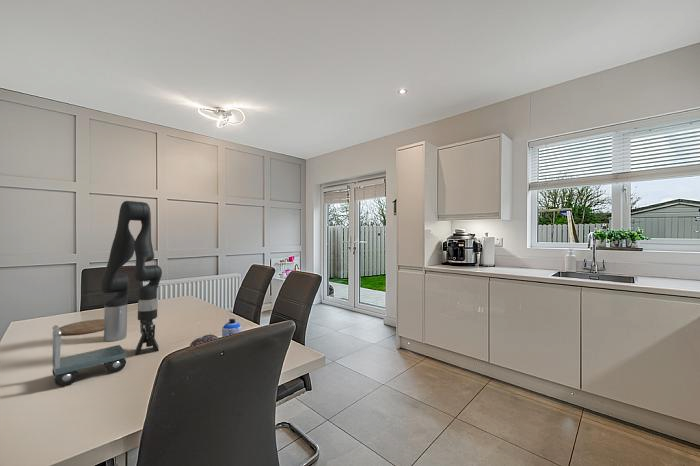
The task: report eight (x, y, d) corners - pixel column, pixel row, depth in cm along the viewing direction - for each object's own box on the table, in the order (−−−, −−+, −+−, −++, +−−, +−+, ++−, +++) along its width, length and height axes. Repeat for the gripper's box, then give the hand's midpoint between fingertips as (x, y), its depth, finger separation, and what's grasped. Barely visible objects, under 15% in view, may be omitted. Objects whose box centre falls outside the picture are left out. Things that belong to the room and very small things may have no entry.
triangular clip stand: (134, 355, 129) (135, 328, 129) (135, 351, 134) (135, 325, 134) (158, 351, 134) (159, 325, 134) (158, 347, 139) (158, 322, 139)
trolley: (51, 378, 108) (52, 325, 108) (119, 361, 123) (120, 314, 124) (54, 390, 100) (55, 333, 100) (126, 370, 115) (127, 320, 116)
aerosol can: (216, 370, 116) (217, 320, 116) (231, 362, 124) (231, 315, 124) (231, 373, 113) (232, 322, 114) (245, 365, 121) (246, 317, 121)
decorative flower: (172, 345, 117) (203, 324, 130) (173, 367, 121) (203, 344, 134) (199, 360, 112) (228, 337, 126) (200, 382, 117) (228, 357, 130)
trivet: (122, 327, 169) (122, 323, 169) (64, 339, 148) (64, 336, 148) (106, 319, 183) (106, 316, 183) (50, 330, 162) (50, 327, 162)
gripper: (133, 307, 136) (133, 342, 136) (142, 312, 127) (141, 351, 127) (152, 304, 142) (151, 338, 142) (162, 309, 133) (161, 346, 132)
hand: (147, 344), depth 134 cm, fingers closed on triangular clip stand, 6 cm apart
